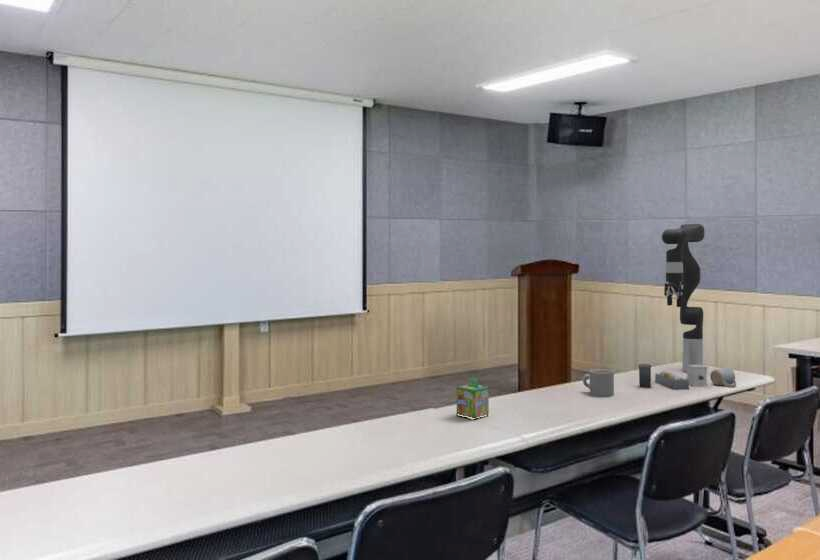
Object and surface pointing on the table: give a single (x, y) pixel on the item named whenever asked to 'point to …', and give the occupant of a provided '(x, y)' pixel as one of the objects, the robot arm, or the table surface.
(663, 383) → the breaker strip
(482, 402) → the chalk box
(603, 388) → the coffee mug
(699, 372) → the junction box
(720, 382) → the ceramic mug
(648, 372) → the dark grey upright block
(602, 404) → the table surface
